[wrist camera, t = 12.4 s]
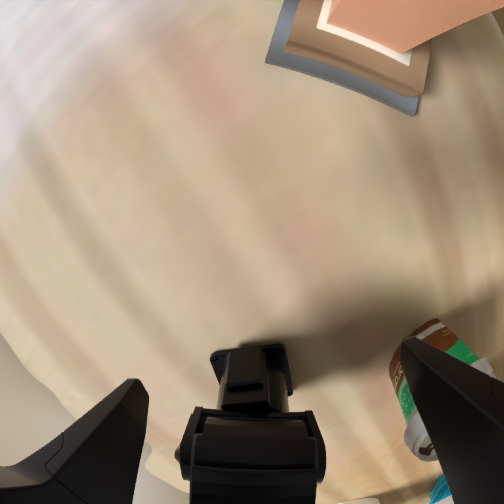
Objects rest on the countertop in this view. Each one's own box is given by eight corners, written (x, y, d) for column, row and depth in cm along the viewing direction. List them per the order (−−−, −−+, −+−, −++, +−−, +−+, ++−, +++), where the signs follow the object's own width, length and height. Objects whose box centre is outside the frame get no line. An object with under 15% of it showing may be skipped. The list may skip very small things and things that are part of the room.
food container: (381, 321, 23) (430, 404, 14) (439, 304, 23) (498, 372, 13) (374, 407, 27) (398, 478, 18) (421, 392, 27) (453, 455, 18)
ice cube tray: (425, 498, 46) (428, 506, 43) (435, 476, 39) (439, 486, 36) (461, 480, 44) (464, 487, 41) (478, 453, 38) (482, 462, 35)
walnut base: (410, 116, 17) (432, 113, 14) (265, 62, 16) (266, 48, 14) (428, 7, 14) (446, -5, 11) (300, -45, 13) (305, -66, 10)
